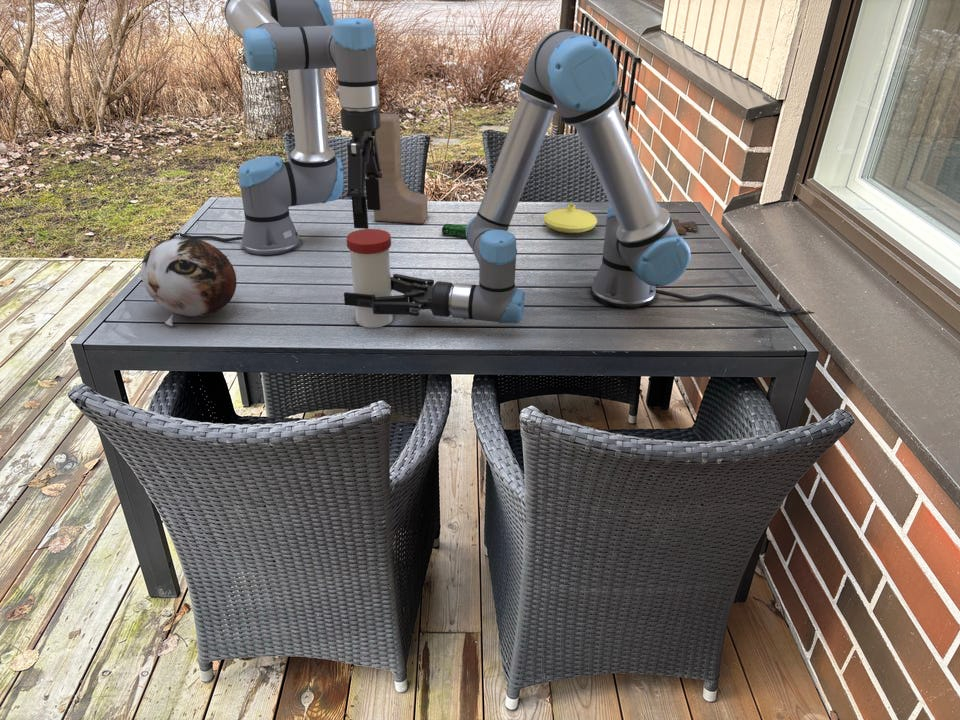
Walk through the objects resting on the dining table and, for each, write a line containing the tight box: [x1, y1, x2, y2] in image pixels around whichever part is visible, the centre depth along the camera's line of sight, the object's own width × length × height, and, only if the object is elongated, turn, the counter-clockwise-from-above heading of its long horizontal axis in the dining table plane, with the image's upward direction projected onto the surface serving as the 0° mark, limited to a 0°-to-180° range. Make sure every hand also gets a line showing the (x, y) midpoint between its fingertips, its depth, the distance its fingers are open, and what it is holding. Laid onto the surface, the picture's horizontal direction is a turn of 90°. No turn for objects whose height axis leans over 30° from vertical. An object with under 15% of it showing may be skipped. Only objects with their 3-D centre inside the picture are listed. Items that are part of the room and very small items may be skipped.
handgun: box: [441, 223, 467, 238], centre depth 207 cm, size 16×3×15 cm
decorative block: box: [373, 112, 429, 225], centre depth 209 cm, size 8×15×30 cm, turn 82°
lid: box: [346, 228, 392, 254], centre depth 151 cm, size 9×9×2 cm
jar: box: [349, 248, 394, 329], centre depth 155 cm, size 8×8×19 cm
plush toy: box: [140, 236, 238, 327], centre depth 157 cm, size 22×18×20 cm
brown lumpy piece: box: [672, 218, 698, 235], centre depth 212 cm, size 26×2×10 cm
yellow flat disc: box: [543, 203, 598, 234], centre depth 209 cm, size 16×16×7 cm
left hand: (367, 218), depth 148 cm, fingers open, 11 cm apart
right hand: (352, 289), depth 158 cm, fingers closed on jar, 8 cm apart
